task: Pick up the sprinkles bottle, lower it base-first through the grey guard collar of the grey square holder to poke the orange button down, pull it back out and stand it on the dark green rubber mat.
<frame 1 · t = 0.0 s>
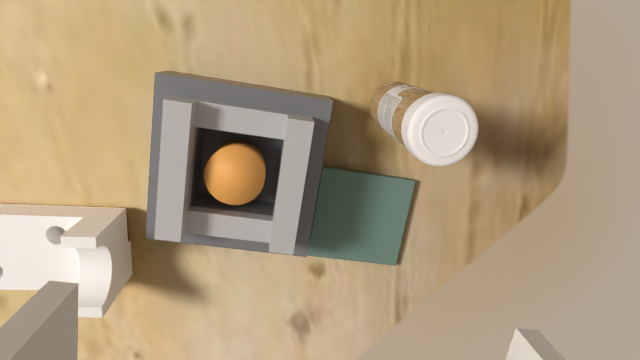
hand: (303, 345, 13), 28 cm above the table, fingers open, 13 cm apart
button: (236, 171, 36), point 4 cm above the table, slide at 0.0 cm
mat: (359, 216, 42), on the table
bracket: (61, 236, 41), on the table
grey square holder: (241, 160, 40), on the table
sprinkles bottle: (392, 106, 39), on the table
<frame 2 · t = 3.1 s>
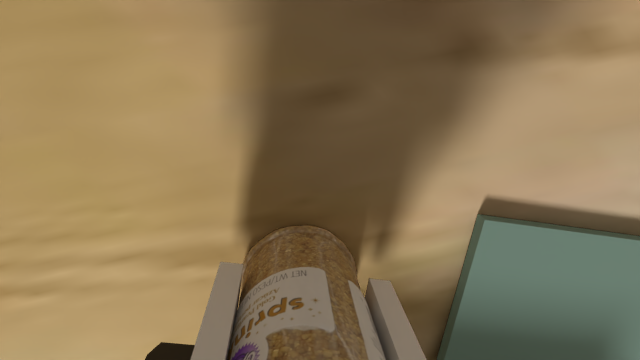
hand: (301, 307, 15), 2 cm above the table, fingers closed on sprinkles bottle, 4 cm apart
mat: (548, 324, 19), on the table
sprinkles bottle: (299, 272, 17), on the table, touching gripper
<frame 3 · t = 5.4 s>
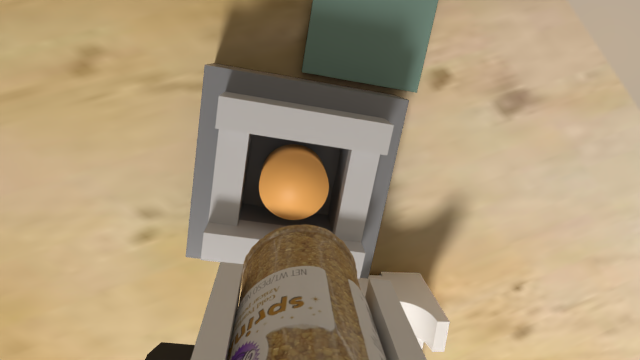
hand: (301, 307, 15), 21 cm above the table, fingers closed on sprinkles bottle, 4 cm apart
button: (293, 181, 31), point 4 cm above the table, slide at 0.0 cm
mat: (370, 21, 32), on the table
bracket: (372, 331, 40), on the table
grey square holder: (292, 167, 35), on the table
sprinkles bottle: (299, 272, 17), point 18 cm above the table, touching gripper
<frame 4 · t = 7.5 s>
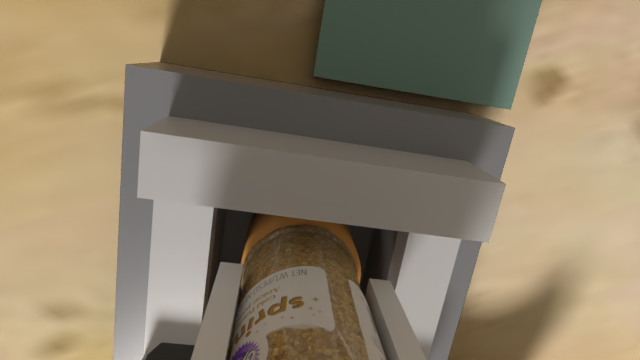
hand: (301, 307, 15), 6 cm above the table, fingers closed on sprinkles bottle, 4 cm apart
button: (299, 258, 18), point 3 cm above the table, slide at 1.4 cm, touching sprinkles bottle
grey square holder: (298, 233, 21), on the table
sprinkles bottle: (299, 272, 17), point 4 cm above the table, touching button, gripper
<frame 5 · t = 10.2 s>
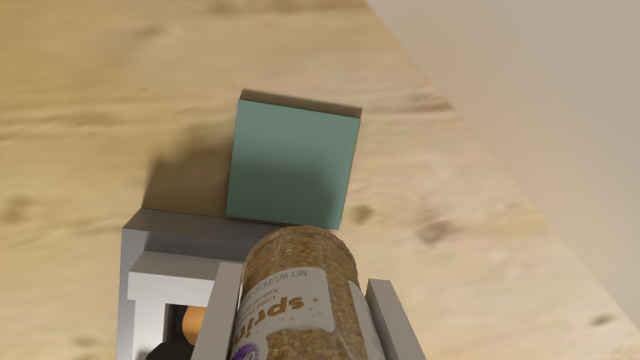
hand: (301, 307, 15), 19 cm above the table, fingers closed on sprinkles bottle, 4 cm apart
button: (218, 314, 33), point 3 cm above the table, slide at 1.4 cm
mat: (291, 166, 33), on the table
grey square holder: (222, 296, 36), on the table
sprinkles bottle: (299, 272, 17), point 17 cm above the table, touching gripper
when the fingers open (4 cm above the table, at t = 12.6 s): sprinkles bottle stays where it is, resting on mat.
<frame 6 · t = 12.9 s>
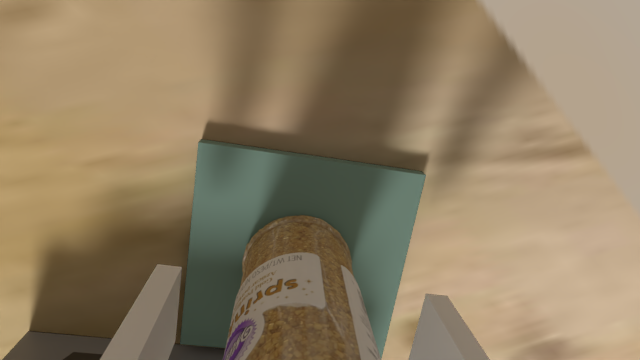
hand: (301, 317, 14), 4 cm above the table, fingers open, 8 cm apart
mat: (298, 256, 19), on the table
sprinkles bottle: (297, 260, 18), resting on mat
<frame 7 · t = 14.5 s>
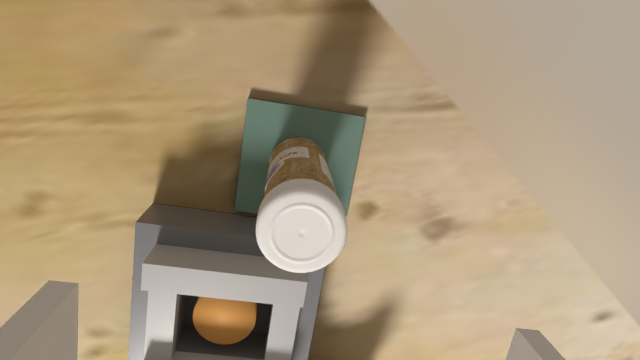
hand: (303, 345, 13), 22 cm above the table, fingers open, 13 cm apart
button: (227, 306, 35), point 3 cm above the table, slide at 1.4 cm
mat: (298, 163, 34), on the table
grey square holder: (231, 290, 37), on the table
sprinkles bottle: (297, 164, 34), resting on mat
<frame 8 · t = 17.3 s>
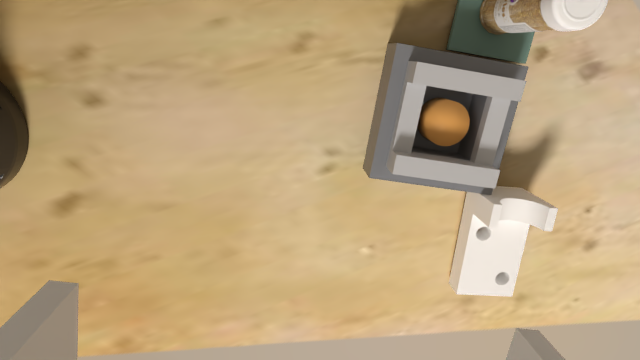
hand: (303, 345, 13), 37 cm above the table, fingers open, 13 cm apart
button: (442, 121, 46), point 3 cm above the table, slide at 1.4 cm
mat: (496, 13, 46), on the table
bracket: (481, 233, 54), on the table
grey square holder: (434, 118, 49), on the table
sprinkles bottle: (497, 13, 46), resting on mat
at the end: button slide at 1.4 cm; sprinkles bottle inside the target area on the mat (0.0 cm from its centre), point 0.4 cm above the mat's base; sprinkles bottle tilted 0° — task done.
